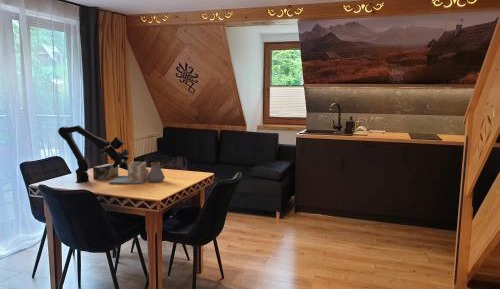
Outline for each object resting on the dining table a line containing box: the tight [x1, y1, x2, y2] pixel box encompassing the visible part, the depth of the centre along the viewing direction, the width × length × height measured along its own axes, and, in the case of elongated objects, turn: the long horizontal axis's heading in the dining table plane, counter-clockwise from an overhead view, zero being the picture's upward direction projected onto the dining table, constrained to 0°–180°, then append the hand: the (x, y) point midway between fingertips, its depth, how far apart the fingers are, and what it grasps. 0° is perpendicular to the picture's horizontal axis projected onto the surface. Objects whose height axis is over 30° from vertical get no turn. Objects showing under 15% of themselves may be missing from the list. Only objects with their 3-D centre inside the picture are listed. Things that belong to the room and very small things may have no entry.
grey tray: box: [108, 168, 150, 185], centre depth 254 cm, size 22×18×7 cm
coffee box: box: [92, 162, 120, 181], centre depth 264 cm, size 9×6×16 cm
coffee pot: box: [147, 161, 172, 184], centre depth 250 cm, size 21×12×15 cm, turn 54°
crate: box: [127, 161, 147, 181], centre depth 254 cm, size 9×12×11 cm
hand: (130, 170), depth 254 cm, fingers closed, pressing on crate
